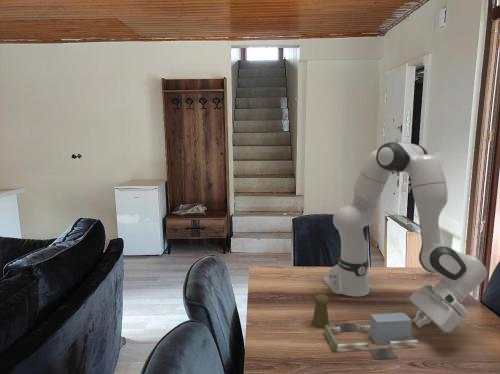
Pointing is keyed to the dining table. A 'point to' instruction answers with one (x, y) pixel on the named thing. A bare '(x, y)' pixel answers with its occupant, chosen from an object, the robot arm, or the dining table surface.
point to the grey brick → (390, 327)
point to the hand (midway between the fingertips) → (415, 324)
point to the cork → (320, 311)
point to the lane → (377, 353)
